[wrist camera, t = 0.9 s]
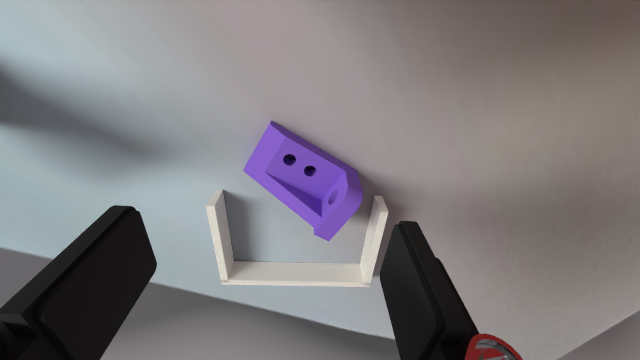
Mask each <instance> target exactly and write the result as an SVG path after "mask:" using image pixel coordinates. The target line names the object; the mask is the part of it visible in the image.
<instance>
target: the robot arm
mask: <svg viewBox="0 0 640 360" xmlns="http://www.w3.org/2000/svg"><path fill="white" fill-rule="evenodd" d="M156 267H157V262H156V259H155V256H154V253H153V250H152V247H151V244H150V241H149V238H148V235H147V232H146V229H145V226H144V223H143V220H142V217H141V214H140V212H139V211H136V209H135V208H134V207H132V206H117V205H115V206H112V207H110V208H109V209H108V210H107V211H106V212H105V213H104V214H103V215H101V216H100V217H99V218H98V219H97V220H96V221H95V222H94V223H93V224H92V225H91V226H89V227H88V228H87V229H86V230H85V231H84V232H83V233H82V234H81V235H80V236H79V237H77V238H76V239H75V240H74V241H73V242H72V243H71V244H70V245H69V246H68V247H67V248H66V249H64V250H63V251H62V252H61V253H60V254H59V255H58V256H57V257H56V258H55V259H54V260H53V261H51V262H50V263H49V264H48V265H47V266H46V267H45V268H44V269H43V270H42V271H40V272H39V274H37V275H36V276H35V277H34V278H33V279H32V280H31V281H30V282H29V283H27V284H26V285H25V286H24V287H23V288H22V289H21V290H20V291H19V292H18V293H17V294H15V295H14V296H13V297H12V298H11V299H10V300H9V301H8V302H7V303H6V304H5V305H4V306H2V307H1V308H0V360H100V358H101V357H102V355H103V354H104V352H105V350H106V349H107V347H108V346H109V344H110V342H111V341H112V339H113V338H114V336H115V334H116V333H117V331H118V330H119V328H120V326H121V325H122V323H123V321H124V320H125V319H126V317H127V315H128V314H129V312H130V311H131V309H132V308H133V306H134V304H135V303H136V301H137V300H138V298H139V296H140V295H141V293H142V292H143V290H144V288H145V287H146V285H147V284H148V282H149V281H150V279H151V277H152V276H153V274H154V273H155V270H156ZM380 281H381V285H382V289H383V293H384V297H385V301H386V304H387V308H388V312H389V316H390V320H391V324H392V327H393V331H394V335H395V339H396V343H397V347H398V350H399V354H400V358H401V360H523V359H522V357H521V356H520V355H519V354H518V353H517V352H516V351H515V350H514V348H513V347H512V346H510V345H509V344H507V343H506V342H505V341H503V340H502V339H500V338H498V337H496V336H494V335H489V334H479V332H478V330H477V328H476V326H475V324H474V322H473V321H472V319H471V317H470V315H469V313H468V311H467V309H466V307H465V306H464V304H463V302H462V300H461V298H460V296H459V294H458V292H457V291H456V289H455V287H454V285H453V283H452V281H451V279H450V277H449V276H448V274H447V272H446V270H445V268H444V266H443V264H442V263H441V261H440V260H439V259H438V258H435V256H434V254H433V252H432V250H431V248H430V246H429V244H428V242H427V240H426V238H425V236H424V235H423V233H422V231H421V229H420V227H419V225H418V223H417V222H412V221H400V222H399V224H398V225H397V224H396V225H395V226H394V228H393V231H392V235H391V238H390V241H389V245H388V248H387V251H386V254H385V258H384V261H383V264H382V268H381V271H380Z"/></svg>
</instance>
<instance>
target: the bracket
mask: <svg viewBox="0 0 640 360" xmlns="http://www.w3.org/2000/svg"><path fill="white" fill-rule="evenodd" d="M287 154H292V155H294V156H295V158H296V159H293V160H289V159H287V158H285V157H284V156H285V155H287ZM307 166H314V167H315V169H313V170H307V169H305V167H307ZM243 171H244V172H246V173H247V174H248V175H249V176H251V177H252V178H253V179H254V180H255V181H257V182H258V183H259V184H260V185H262V186H263V187H264V188H265V189H267V190H268V191H269V192H270V193H272V194H273V195H274V196H275V197H277V198H278V199H279V200H280V201H282V202H283V203H284V204H285V205H287V206H288V207H289V208H290V209H292V210H293V211H294V212H295V213H297V214H298V215H299V216H300V217H302V218H303V219H304V220H305V221H307V222H308V223H309V224H310V225H312V226H313V227H314V235H316V236H319V237H321V238H323V239H325V240H327V241H330V239H331V238H332V237H333V236H334V235H335V234H336V233H337V232H338V231H339V229H340V228H341V227H342V226H343V225H344V224H345V223H346V222H347V221H348V220H349V218H350V217H351V216H352V215H353V214H354V213H355V212H356V211H357V209H358V208H359V206H360V204H361V202H362V199H363V191H362V187H361V184H360V181H359V177H358V174H357V170H355V169H354V168H352V167H350V166H348V165H347V164H345V163H343V162H342V161H340V160H338V159H336V158H335V157H333V156H331V155H330V154H328V153H326V152H324V151H323V150H321V149H319V148H318V147H316V146H314V145H312V144H311V143H309V142H307V141H306V140H304V139H302V138H300V137H299V136H297V135H295V134H294V133H292V132H290V131H289V130H287V129H285V128H283V127H282V126H280V125H278V124H277V123H275V122H273V121H271V122H270V124H269V126H268V128H267V129H266V131H265V133H264V135H263V136H262V138H261V140H260V142H259V143H258V145H257V147H256V149H255V150H254V152H253V154H252V156H251V157H250V159H249V161H248V162H247V164H246V166H245V168H244V170H243Z"/></svg>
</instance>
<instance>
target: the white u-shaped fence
mask: <svg viewBox="0 0 640 360" xmlns="http://www.w3.org/2000/svg"><path fill="white" fill-rule="evenodd" d="M206 209H207V214H208V219H209V224H210V229H211V234H212V239H213V243H214V248H215V253H216V258H217V263H218V268H219V273H220V278H221V282H222V284H231V285H287V286H343V287H369V286H370V282H371V278H372V274H373V271H374V267H375V263H376V259H377V255H378V251H379V247H380V243H381V239H382V235H383V231H384V228H385V224H386V220H387V216H388V210H387V207H386V205H385V202H384V199H383V197H382V196H377V195H375V196H374V201H373V206H372V210H371V215H370V220H369V225H368V229H367V234H366V239H365V243H364V248H363V253H362V258H361V262H360V264H340V263H296V262H252V261H234V258H233V251H232V245H231V238H230V232H229V226H228V219H227V213H226V206H225V200H224V194H223V190H219V189H215V190H214V192H213V194H212V196H211V197H210V199H209V201H208V203H207V205H206Z"/></svg>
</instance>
